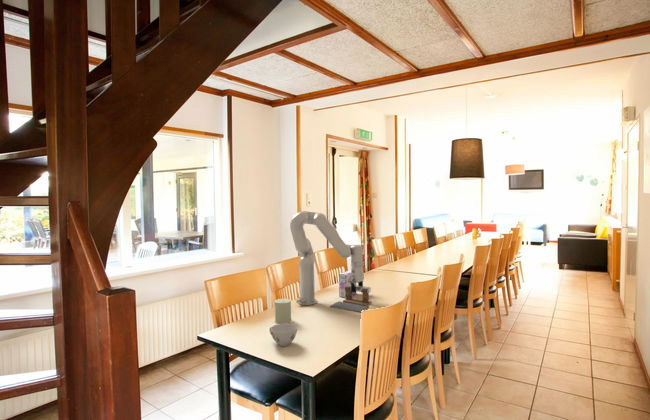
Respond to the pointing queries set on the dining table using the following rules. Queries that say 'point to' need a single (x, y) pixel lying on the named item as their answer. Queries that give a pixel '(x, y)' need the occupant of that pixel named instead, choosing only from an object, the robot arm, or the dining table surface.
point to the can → (282, 311)
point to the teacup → (283, 333)
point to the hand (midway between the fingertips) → (357, 290)
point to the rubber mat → (349, 306)
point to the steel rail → (359, 288)
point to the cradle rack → (362, 302)
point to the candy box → (344, 279)
